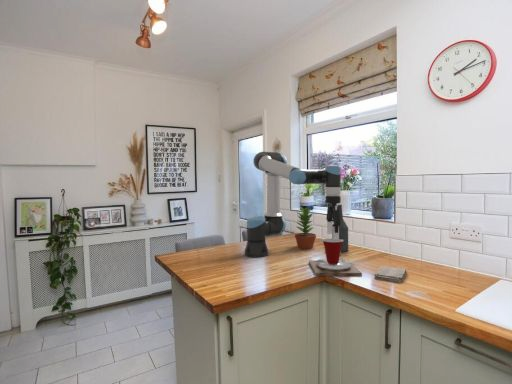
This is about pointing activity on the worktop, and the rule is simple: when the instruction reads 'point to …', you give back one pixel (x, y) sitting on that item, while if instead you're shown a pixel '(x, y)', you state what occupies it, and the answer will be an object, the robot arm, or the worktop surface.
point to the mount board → (332, 273)
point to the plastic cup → (332, 249)
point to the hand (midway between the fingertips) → (332, 236)
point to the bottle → (343, 231)
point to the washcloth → (390, 274)
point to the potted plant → (305, 230)
